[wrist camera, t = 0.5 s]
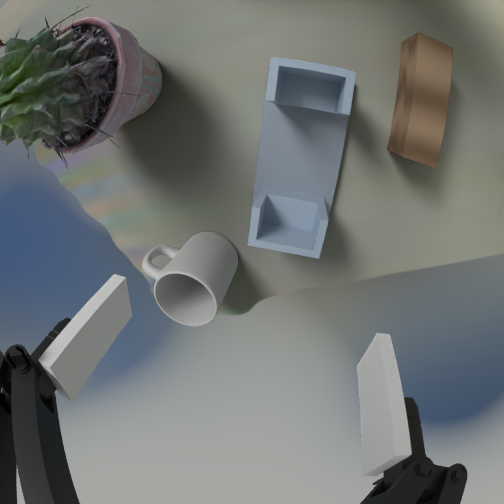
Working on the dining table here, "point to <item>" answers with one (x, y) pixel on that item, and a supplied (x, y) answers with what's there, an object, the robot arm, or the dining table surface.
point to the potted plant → (74, 85)
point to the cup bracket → (299, 154)
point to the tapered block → (421, 99)
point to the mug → (193, 277)
